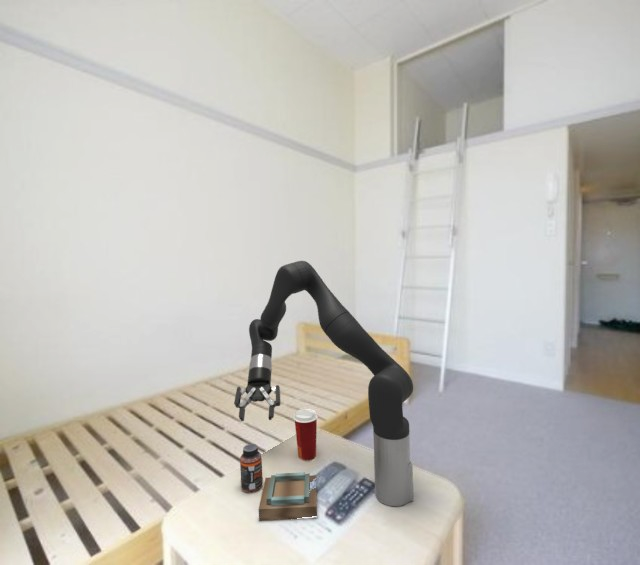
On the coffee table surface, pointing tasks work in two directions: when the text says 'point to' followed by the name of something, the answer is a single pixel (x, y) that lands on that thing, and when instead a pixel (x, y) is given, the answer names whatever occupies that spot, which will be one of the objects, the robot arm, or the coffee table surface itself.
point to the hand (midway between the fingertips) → (256, 419)
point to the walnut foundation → (288, 497)
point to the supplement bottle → (251, 468)
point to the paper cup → (306, 433)
